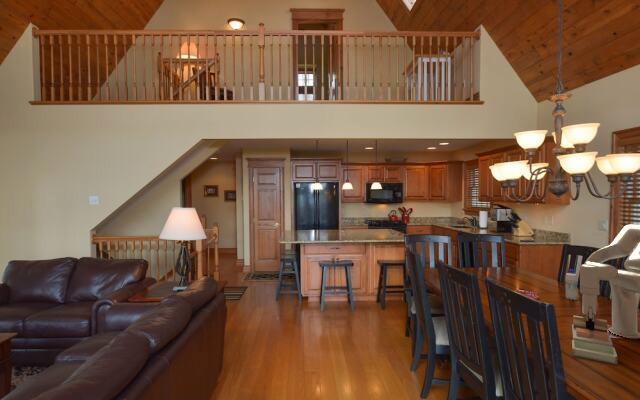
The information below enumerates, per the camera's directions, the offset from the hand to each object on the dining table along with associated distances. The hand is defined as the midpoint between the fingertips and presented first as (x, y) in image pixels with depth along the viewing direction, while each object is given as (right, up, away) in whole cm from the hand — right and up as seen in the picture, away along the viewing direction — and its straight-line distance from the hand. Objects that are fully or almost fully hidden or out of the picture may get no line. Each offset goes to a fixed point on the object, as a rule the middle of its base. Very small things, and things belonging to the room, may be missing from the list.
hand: (589, 327), depth 171 cm
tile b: (-8, -1, -6) cm, 10 cm away
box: (-12, -5, -18) cm, 22 cm away
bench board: (-3, -5, -5) cm, 7 cm away
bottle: (+35, -4, +61) cm, 71 cm away
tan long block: (0, 0, 0) cm, 0 cm away
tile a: (-2, -1, -9) cm, 10 cm away
